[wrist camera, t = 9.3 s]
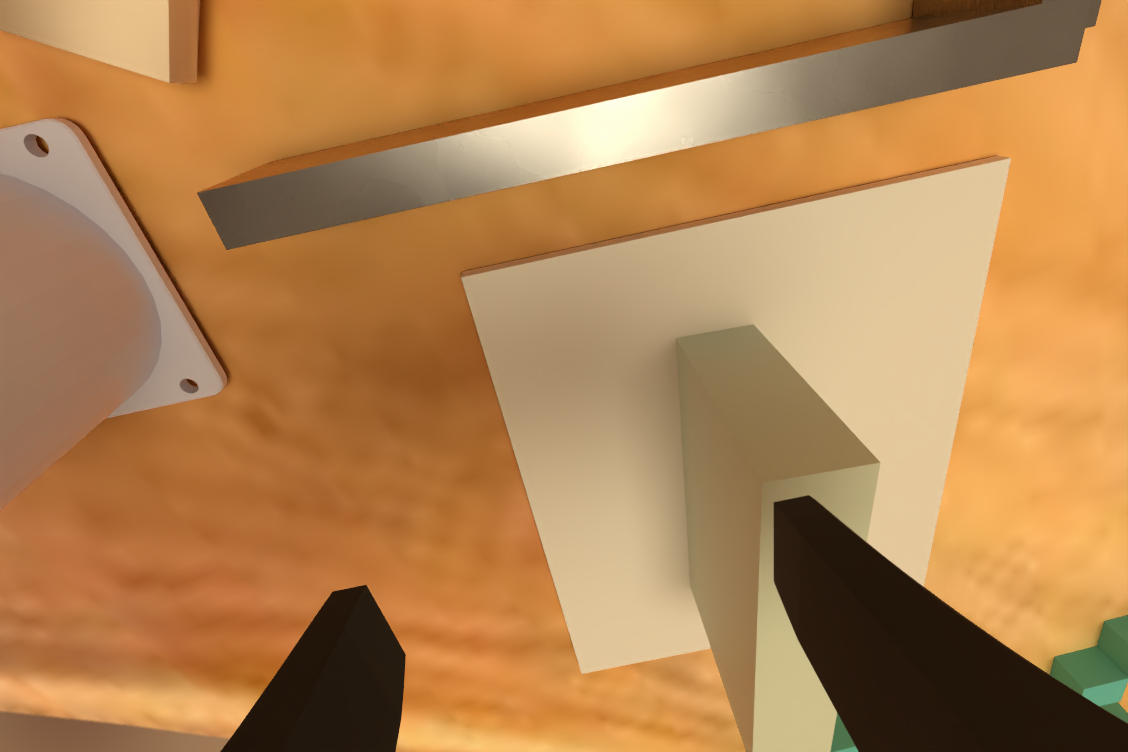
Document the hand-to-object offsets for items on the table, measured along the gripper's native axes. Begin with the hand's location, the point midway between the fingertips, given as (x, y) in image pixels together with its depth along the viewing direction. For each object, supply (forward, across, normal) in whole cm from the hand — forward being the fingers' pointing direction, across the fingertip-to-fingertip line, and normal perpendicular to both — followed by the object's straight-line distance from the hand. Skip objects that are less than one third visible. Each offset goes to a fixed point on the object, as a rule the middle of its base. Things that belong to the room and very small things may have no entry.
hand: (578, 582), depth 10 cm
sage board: (+9, -5, +6) cm, 12 cm away
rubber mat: (+9, -6, +7) cm, 13 cm away
